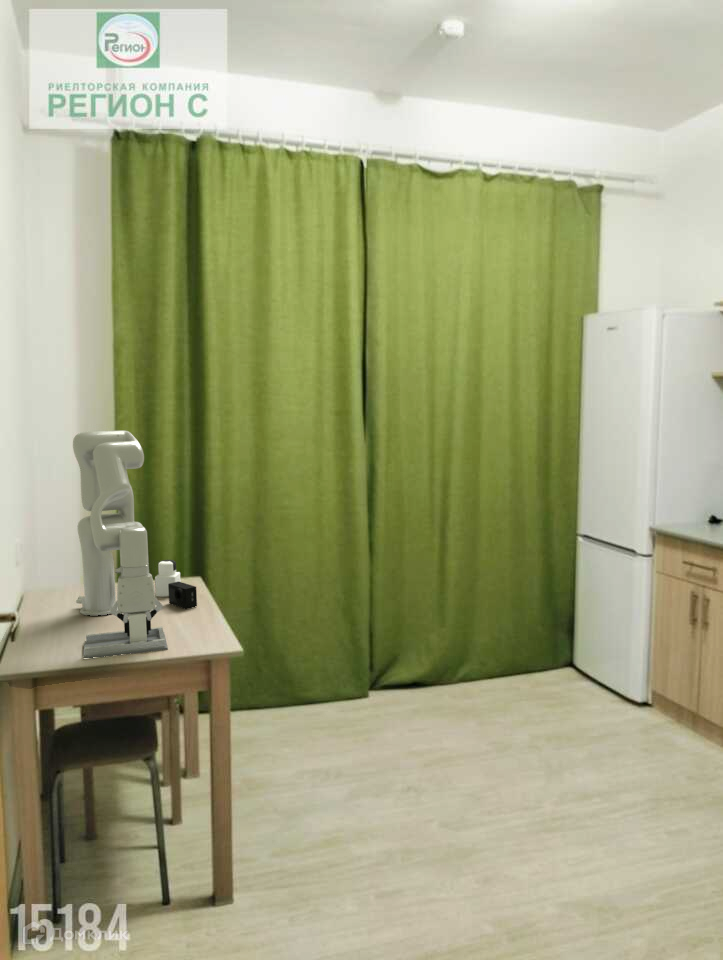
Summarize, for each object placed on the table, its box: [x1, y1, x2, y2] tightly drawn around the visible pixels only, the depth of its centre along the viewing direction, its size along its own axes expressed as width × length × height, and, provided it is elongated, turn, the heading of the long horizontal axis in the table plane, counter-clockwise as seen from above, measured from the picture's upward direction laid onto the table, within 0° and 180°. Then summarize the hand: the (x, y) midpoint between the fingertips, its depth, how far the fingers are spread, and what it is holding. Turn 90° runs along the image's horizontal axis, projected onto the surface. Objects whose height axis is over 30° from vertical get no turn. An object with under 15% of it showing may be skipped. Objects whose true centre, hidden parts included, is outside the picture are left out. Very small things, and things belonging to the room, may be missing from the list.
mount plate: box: [82, 633, 169, 659], centre depth 212 cm, size 22×14×1 cm, turn 108°
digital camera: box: [168, 581, 198, 610], centre depth 252 cm, size 10×5×7 cm, turn 46°
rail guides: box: [85, 626, 166, 656], centre depth 212 cm, size 21×12×2 cm, turn 108°
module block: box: [128, 612, 147, 642], centre depth 213 cm, size 4×7×8 cm, turn 18°
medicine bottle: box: [154, 559, 182, 598], centre depth 266 cm, size 7×7×12 cm
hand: (137, 633), depth 213 cm, fingers closed on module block, 4 cm apart
